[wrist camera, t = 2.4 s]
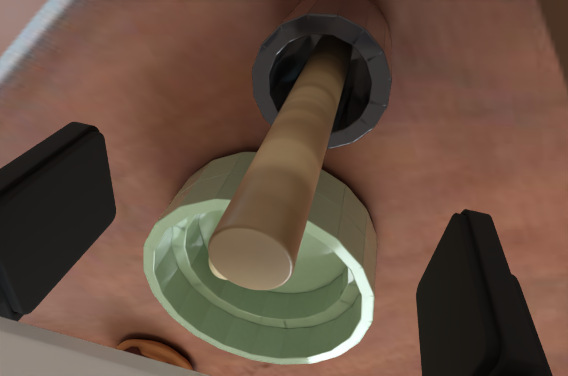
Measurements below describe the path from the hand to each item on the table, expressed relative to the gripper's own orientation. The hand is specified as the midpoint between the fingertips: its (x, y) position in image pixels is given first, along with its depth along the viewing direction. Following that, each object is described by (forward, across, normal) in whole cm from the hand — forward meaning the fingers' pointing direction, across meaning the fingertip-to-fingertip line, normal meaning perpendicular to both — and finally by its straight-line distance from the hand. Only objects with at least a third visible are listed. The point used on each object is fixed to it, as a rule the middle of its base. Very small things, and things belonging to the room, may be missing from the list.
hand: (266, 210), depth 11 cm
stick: (+14, 0, 0) cm, 14 cm away
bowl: (+15, +2, +14) cm, 21 cm away
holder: (+14, 0, 0) cm, 14 cm away
